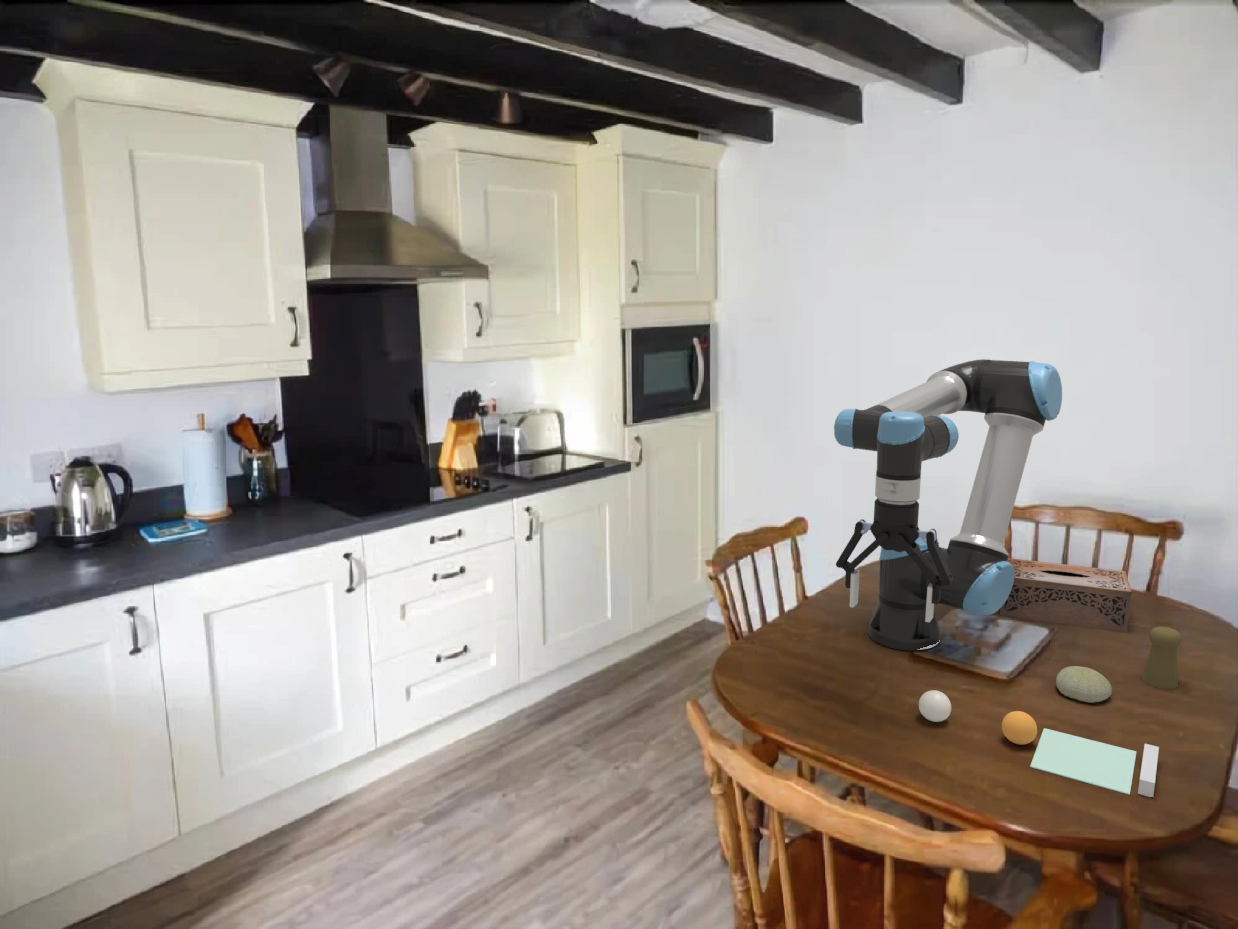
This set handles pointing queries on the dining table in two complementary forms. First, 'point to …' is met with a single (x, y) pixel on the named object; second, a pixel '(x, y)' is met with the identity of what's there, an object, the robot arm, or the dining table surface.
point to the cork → (1162, 658)
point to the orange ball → (1019, 727)
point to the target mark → (1085, 760)
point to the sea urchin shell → (1083, 684)
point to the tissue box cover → (1069, 595)
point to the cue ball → (935, 706)
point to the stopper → (1148, 770)
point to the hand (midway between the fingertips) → (890, 612)
